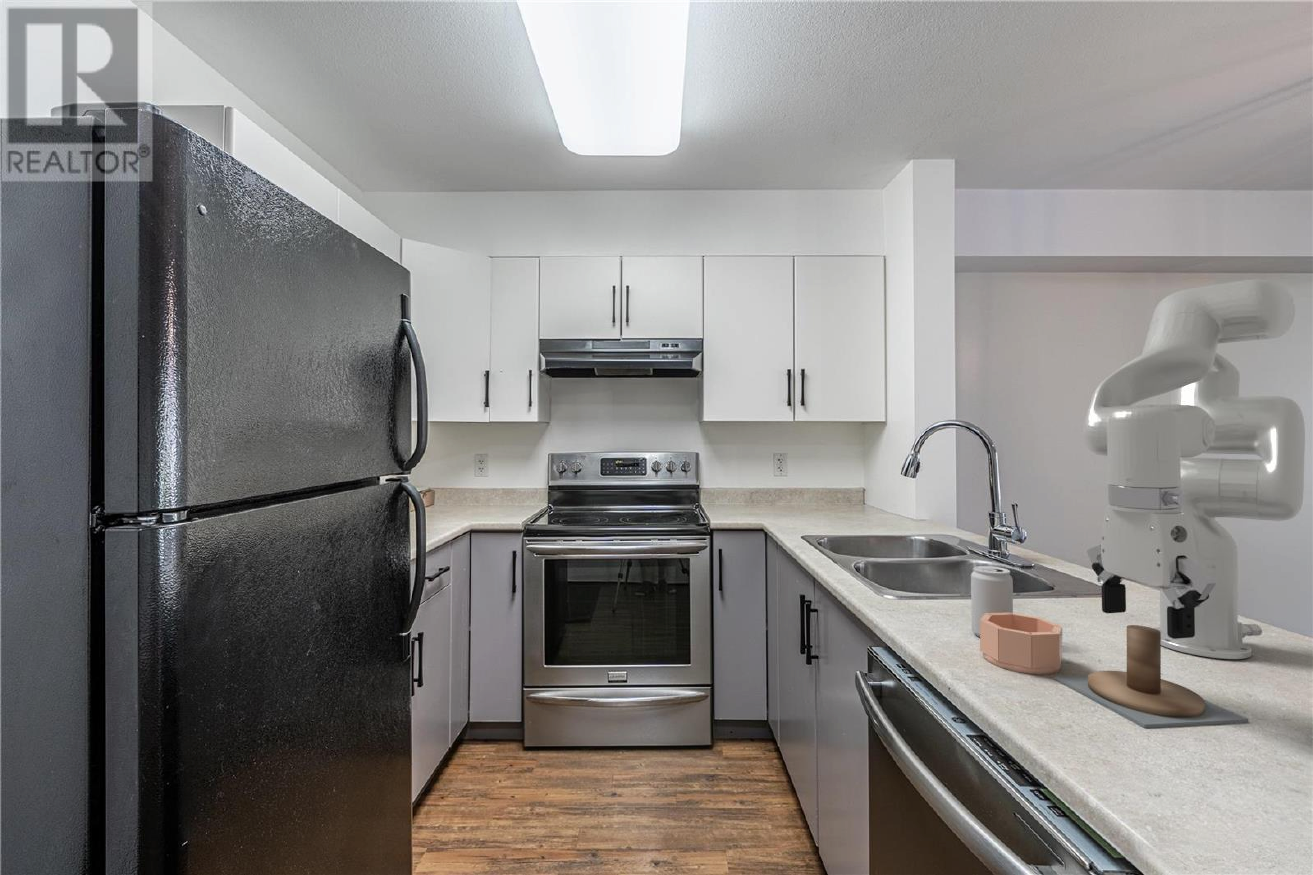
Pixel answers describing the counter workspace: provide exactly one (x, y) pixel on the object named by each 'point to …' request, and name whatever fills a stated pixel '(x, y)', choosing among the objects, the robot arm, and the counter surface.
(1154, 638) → the lid
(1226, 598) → the robot arm
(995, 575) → the beverage can
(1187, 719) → the mat
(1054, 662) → the bowl
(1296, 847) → the counter surface
